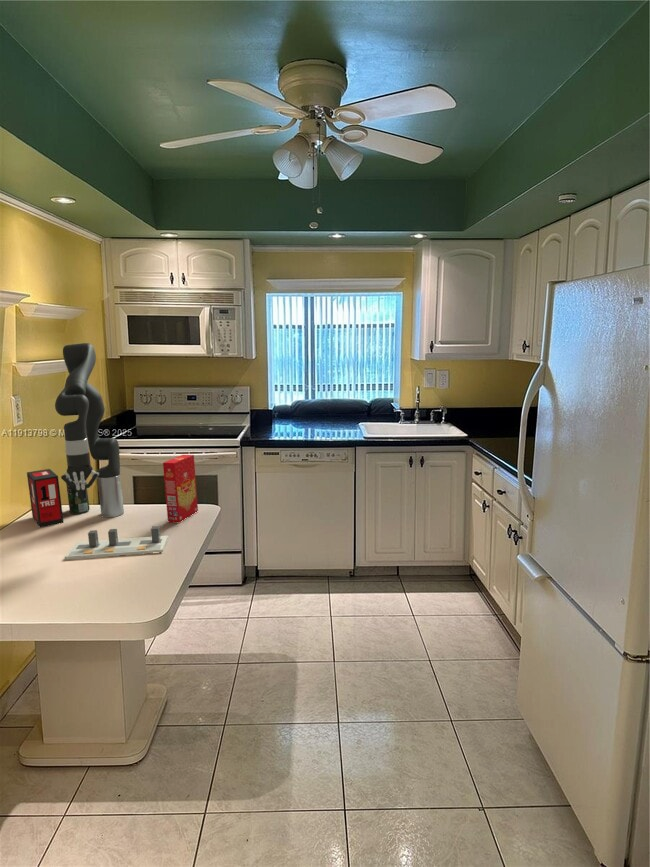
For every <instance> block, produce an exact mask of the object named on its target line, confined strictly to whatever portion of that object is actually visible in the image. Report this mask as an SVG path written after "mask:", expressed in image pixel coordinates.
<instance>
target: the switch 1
mask: <svg viewBox="0 0 650 867" xmlns="http://www.w3.org/2000/svg"><path fill="white" fill-rule="evenodd" d="M87 536H88V537H87V538H88V541H89V547H93V546H97V545H98V543H99V542H98V540H99V534H98V530H97V529H92V530H90V531H89V532H88V533H87Z"/></svg>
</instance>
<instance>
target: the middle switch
mask: <svg viewBox="0 0 650 867" xmlns="http://www.w3.org/2000/svg"><path fill="white" fill-rule="evenodd" d="M107 537H108V540H109V545H116V544H117V543H118V539H119V538H118V529H117V528H111V529H110V528H109V530H108V532H107Z"/></svg>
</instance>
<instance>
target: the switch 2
mask: <svg viewBox="0 0 650 867" xmlns="http://www.w3.org/2000/svg"><path fill="white" fill-rule="evenodd" d="M160 530H161V529H160V525H153V526H152V527H151V528H150V531H151V532H150V533H151V537H152V542H159V541H160V536H161V535H160V534H161V532H160Z"/></svg>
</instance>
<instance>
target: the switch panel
mask: <svg viewBox="0 0 650 867" xmlns="http://www.w3.org/2000/svg"><path fill="white" fill-rule="evenodd" d="M168 538H169V535H160V541H159V542H152V536H144V537H141V536H140V537H129V538H118V543H117V544H116V545H109V539H102V540H101V539H98V542H99V543H98V545H97V546H93V547H89V540H87V541H76V543H75V544H74V545H73V546H72V547H71V549H70V550H69V551H68V552H67V553H66V554H65V555H64V560H65V561H69V560H70V561H71V560H84V559H85V558H86V559H95V557H99V558H107V557H106V556H113V557H120V556H119V555H126V556H132V555H131V554H139V555H144V554H143V553H153V552H163V553H164V551H163V550H165V549H166V546H167V544H166V543H168V541H169V539H168ZM167 540H168V541H167ZM165 545H166V546H165ZM164 548H165V549H164ZM153 554H154V553H153Z"/></svg>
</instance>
